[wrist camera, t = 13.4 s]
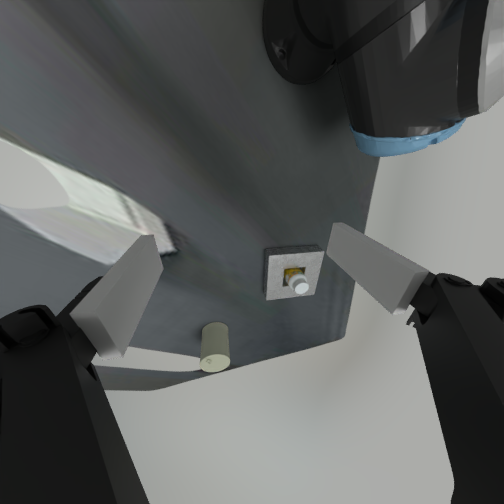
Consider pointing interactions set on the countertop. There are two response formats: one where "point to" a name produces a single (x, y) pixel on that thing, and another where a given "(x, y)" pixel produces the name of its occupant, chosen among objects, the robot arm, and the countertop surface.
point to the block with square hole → (290, 258)
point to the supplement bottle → (296, 280)
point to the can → (214, 347)
